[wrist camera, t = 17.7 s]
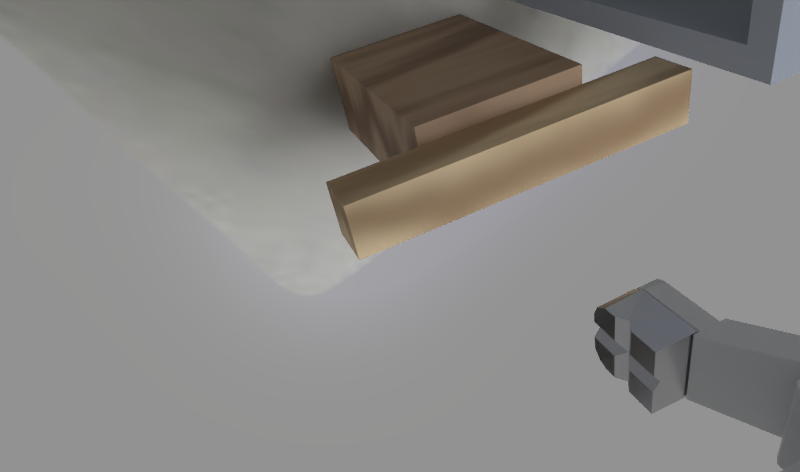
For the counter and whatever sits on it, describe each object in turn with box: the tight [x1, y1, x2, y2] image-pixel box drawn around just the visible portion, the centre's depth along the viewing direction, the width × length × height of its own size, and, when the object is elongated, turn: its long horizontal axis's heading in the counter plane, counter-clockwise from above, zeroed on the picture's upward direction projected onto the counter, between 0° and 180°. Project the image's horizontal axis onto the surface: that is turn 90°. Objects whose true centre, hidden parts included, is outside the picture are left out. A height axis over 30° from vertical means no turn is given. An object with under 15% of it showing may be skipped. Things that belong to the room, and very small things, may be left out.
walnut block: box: [331, 14, 582, 161], centre depth 43 cm, size 6×11×16 cm, turn 102°
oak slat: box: [326, 57, 692, 260], centre depth 36 cm, size 4×22×3 cm, turn 102°
